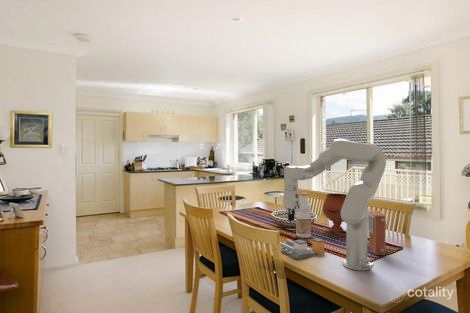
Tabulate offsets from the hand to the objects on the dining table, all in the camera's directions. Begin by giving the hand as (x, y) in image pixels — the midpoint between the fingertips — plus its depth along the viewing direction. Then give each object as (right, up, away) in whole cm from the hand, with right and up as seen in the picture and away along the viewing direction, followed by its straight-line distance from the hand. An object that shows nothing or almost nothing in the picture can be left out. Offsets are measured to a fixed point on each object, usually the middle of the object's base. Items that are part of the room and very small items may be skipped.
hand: (291, 220), depth 169 cm
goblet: (+39, -16, +40) cm, 58 cm away
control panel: (+47, -17, -1) cm, 50 cm away
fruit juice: (+13, -16, +27) cm, 34 cm away
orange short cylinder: (+14, -17, -3) cm, 22 cm away
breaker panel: (+1, -17, -1) cm, 17 cm away
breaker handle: (+4, -15, -7) cm, 17 cm away
